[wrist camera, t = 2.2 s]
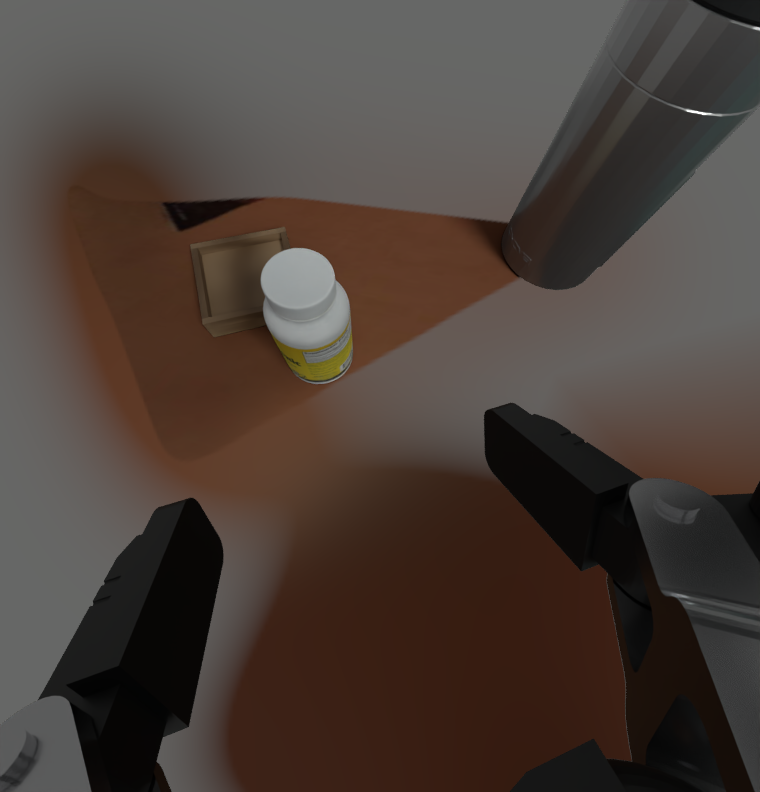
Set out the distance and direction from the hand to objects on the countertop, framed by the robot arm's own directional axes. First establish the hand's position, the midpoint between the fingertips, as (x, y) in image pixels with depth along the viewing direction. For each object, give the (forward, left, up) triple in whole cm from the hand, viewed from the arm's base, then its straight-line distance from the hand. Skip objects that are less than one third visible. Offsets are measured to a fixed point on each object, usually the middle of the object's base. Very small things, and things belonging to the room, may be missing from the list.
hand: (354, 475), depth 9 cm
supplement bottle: (0, -11, -15) cm, 19 cm away
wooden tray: (+4, -19, -15) cm, 25 cm away
